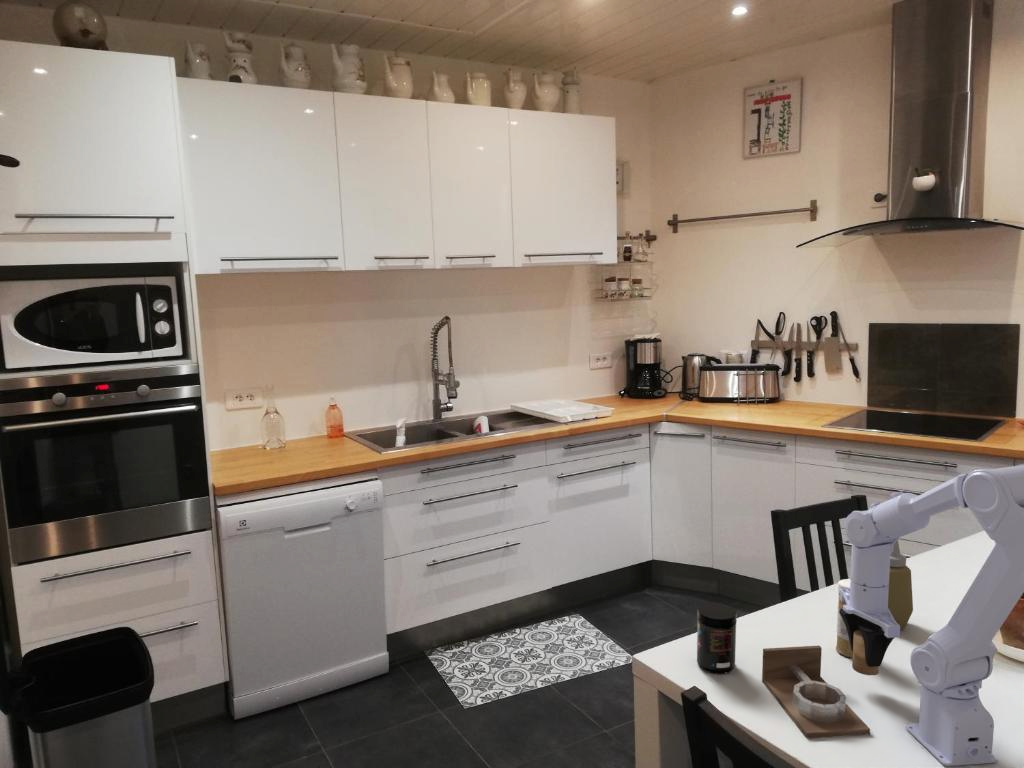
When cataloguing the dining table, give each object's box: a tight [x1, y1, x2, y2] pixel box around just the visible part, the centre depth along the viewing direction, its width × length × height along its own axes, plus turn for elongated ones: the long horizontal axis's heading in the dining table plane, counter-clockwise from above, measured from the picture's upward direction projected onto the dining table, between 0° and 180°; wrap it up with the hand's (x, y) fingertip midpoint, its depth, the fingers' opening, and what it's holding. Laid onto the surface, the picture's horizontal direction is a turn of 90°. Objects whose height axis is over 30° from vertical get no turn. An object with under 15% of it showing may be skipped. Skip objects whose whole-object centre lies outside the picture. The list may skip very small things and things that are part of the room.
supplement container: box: [696, 602, 738, 675], centre depth 131 cm, size 7×7×10 cm
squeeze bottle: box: [888, 539, 914, 630], centre depth 145 cm, size 8×8×18 cm
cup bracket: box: [761, 645, 871, 739], centre depth 118 cm, size 16×10×6 cm, turn 4°
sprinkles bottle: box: [835, 578, 853, 658], centre depth 134 cm, size 5×5×13 cm
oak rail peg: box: [851, 630, 880, 676], centre depth 122 cm, size 4×4×6 cm
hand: (865, 658), depth 122 cm, fingers closed on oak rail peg, 4 cm apart
